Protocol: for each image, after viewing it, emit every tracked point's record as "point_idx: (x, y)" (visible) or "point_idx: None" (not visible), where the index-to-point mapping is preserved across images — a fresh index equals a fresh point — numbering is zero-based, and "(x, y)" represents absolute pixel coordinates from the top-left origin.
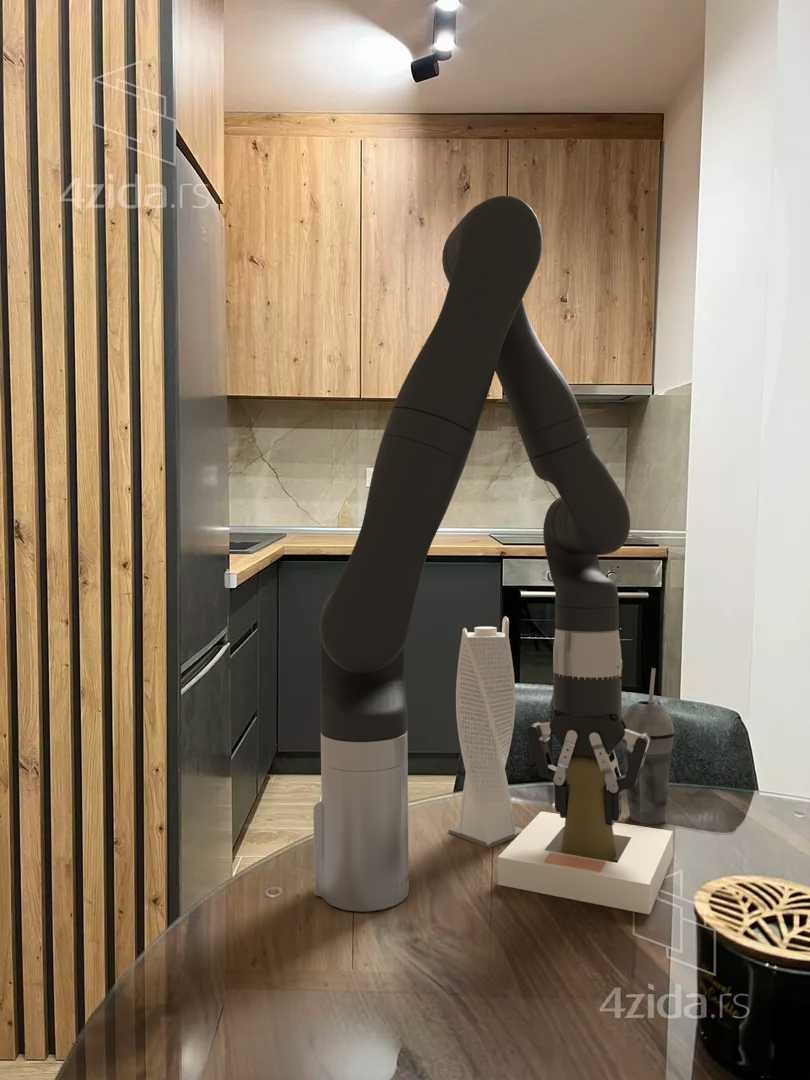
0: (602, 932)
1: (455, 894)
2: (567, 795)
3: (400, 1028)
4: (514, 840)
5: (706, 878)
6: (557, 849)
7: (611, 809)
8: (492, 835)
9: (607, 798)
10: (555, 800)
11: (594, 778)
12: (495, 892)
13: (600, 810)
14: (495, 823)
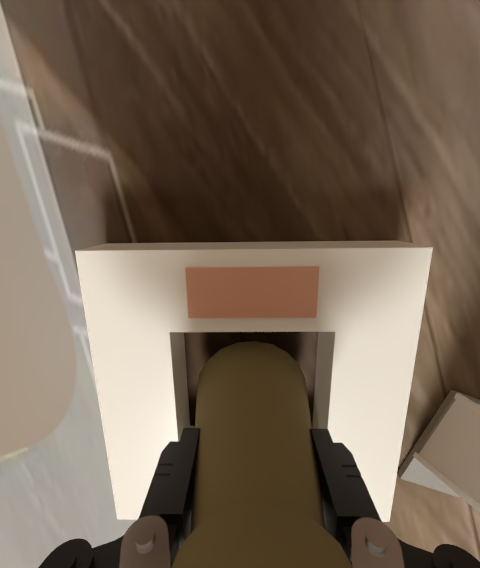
0: (159, 132)
1: (472, 158)
2: (324, 496)
3: None
4: (413, 355)
5: (66, 417)
6: (319, 402)
7: (174, 461)
8: (461, 417)
9: (179, 493)
10: (357, 470)
11: (204, 557)
12: (394, 205)
13: (207, 449)
14: (472, 444)
